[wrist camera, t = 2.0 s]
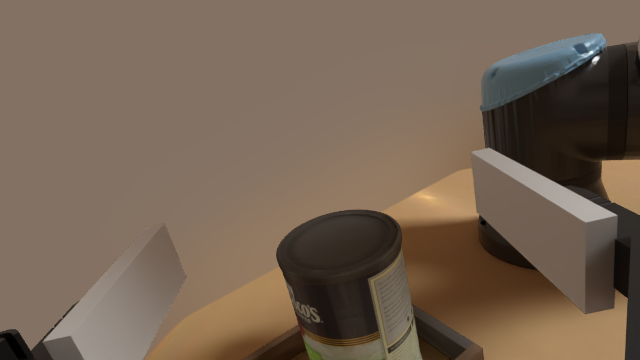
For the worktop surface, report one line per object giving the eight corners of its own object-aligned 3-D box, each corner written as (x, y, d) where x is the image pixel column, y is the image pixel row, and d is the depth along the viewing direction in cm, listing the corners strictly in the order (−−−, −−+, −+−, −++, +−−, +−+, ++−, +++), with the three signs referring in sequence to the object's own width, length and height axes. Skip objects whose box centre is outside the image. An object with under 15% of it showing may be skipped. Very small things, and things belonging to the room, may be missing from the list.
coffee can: (341, 443, 29) (296, 295, 24) (301, 355, 38) (264, 236, 34) (450, 382, 32) (428, 238, 27) (388, 314, 41) (364, 198, 36)
